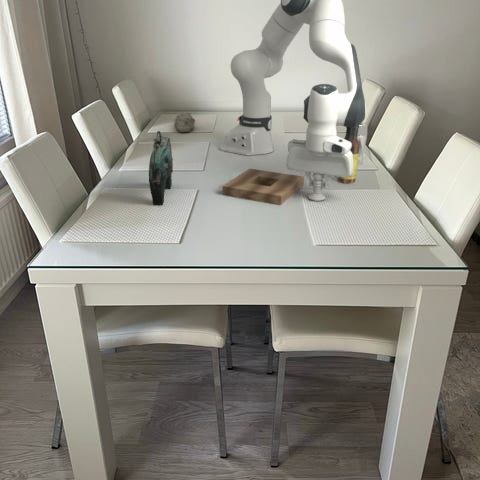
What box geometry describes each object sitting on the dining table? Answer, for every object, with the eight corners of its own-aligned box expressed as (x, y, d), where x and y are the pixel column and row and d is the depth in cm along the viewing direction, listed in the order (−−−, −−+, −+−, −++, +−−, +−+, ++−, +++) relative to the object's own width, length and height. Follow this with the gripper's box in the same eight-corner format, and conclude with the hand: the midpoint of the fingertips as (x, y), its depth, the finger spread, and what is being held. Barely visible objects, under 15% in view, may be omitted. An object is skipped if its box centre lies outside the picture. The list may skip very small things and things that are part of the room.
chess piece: (323, 202, 151) (325, 174, 147) (306, 200, 153) (307, 172, 149) (327, 196, 156) (329, 169, 152) (310, 194, 157) (311, 167, 153)
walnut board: (222, 195, 157) (222, 186, 156) (249, 176, 173) (249, 168, 172) (280, 205, 149) (281, 195, 148) (303, 185, 165) (303, 176, 164)
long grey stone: (194, 120, 262) (175, 121, 261) (193, 110, 260) (174, 111, 259) (196, 132, 230) (174, 134, 229) (195, 121, 228) (173, 123, 227)
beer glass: (364, 166, 184) (368, 125, 177) (345, 165, 185) (348, 124, 179) (363, 160, 190) (368, 121, 183) (345, 159, 191) (349, 120, 185)
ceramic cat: (159, 184, 167) (154, 125, 158) (178, 184, 167) (174, 125, 158) (147, 206, 149) (141, 141, 140) (168, 206, 149) (164, 141, 140)
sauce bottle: (335, 178, 171) (340, 120, 163) (352, 177, 172) (358, 120, 163) (340, 184, 165) (345, 125, 157) (358, 184, 166) (364, 125, 157)
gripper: (284, 141, 148) (282, 184, 154) (351, 148, 140) (347, 194, 146) (291, 136, 153) (290, 178, 159) (357, 143, 145) (352, 188, 151)
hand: (317, 186), depth 152 cm, fingers closed on chess piece, 3 cm apart
